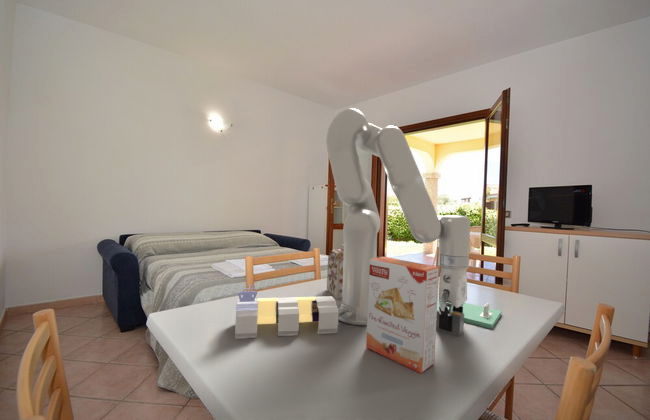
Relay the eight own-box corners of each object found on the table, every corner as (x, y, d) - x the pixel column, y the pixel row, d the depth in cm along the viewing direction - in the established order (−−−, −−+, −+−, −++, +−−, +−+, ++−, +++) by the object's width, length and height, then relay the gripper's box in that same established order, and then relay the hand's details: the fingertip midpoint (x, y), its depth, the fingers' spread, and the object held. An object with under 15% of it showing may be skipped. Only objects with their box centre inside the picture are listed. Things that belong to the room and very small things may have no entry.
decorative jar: (326, 289, 116) (327, 242, 115) (354, 288, 119) (356, 242, 119) (336, 299, 104) (338, 247, 104) (367, 297, 108) (369, 247, 107)
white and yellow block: (234, 341, 71) (236, 286, 70) (237, 324, 81) (239, 275, 81) (337, 335, 76) (339, 284, 76) (328, 320, 86) (330, 274, 86)
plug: (459, 336, 78) (460, 316, 78) (435, 329, 82) (436, 310, 82) (463, 331, 81) (464, 312, 81) (440, 325, 85) (441, 307, 85)
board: (491, 328, 84) (492, 313, 84) (424, 311, 96) (425, 298, 96) (501, 314, 95) (502, 301, 95) (440, 300, 107) (440, 289, 107)
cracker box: (364, 349, 69) (368, 257, 69) (379, 341, 73) (383, 255, 73) (421, 375, 59) (426, 269, 59) (435, 364, 63) (440, 265, 63)
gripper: (458, 268, 72) (456, 339, 72) (476, 259, 86) (474, 319, 86) (427, 263, 77) (425, 330, 77) (448, 255, 90) (446, 312, 91)
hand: (451, 324), depth 82 cm, fingers open, 9 cm apart
